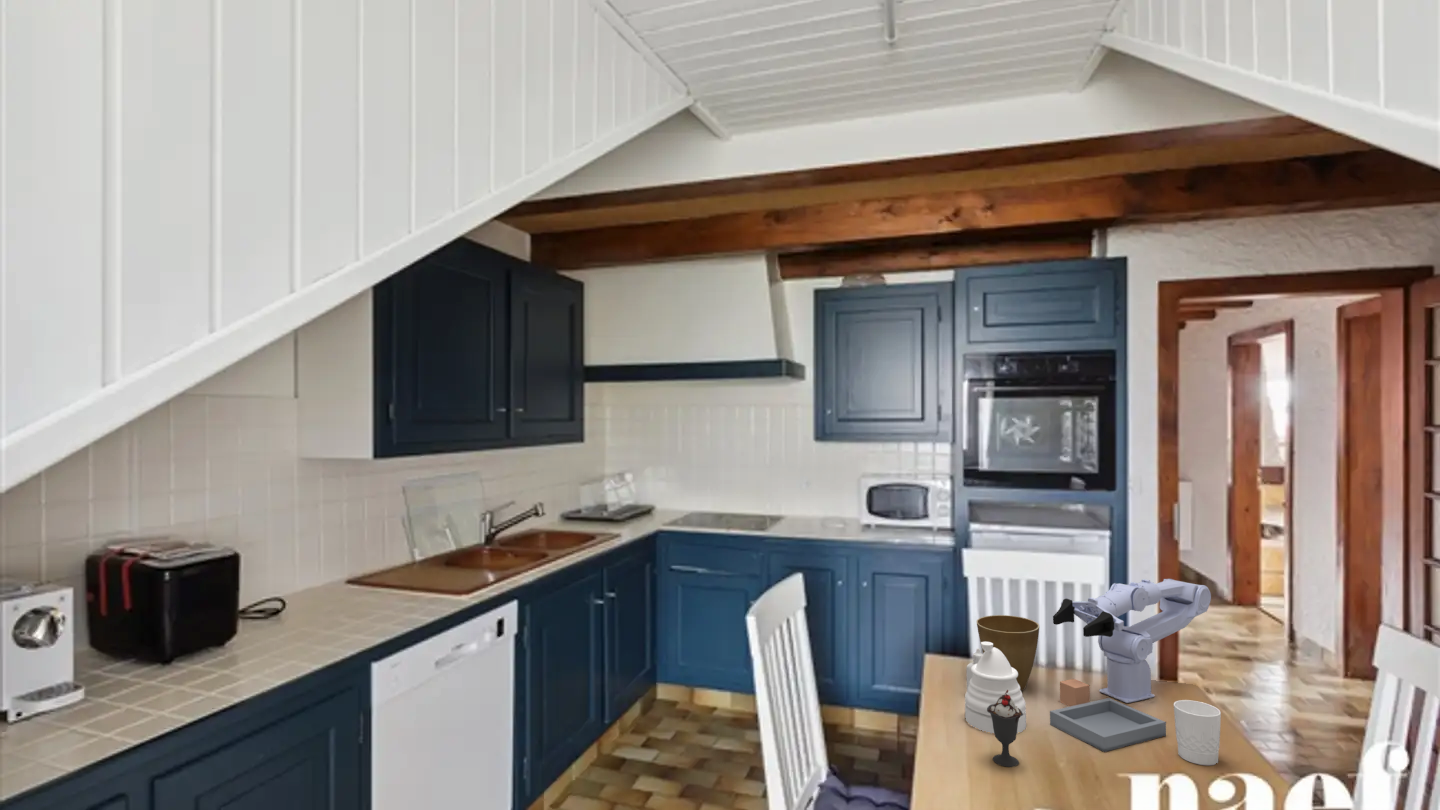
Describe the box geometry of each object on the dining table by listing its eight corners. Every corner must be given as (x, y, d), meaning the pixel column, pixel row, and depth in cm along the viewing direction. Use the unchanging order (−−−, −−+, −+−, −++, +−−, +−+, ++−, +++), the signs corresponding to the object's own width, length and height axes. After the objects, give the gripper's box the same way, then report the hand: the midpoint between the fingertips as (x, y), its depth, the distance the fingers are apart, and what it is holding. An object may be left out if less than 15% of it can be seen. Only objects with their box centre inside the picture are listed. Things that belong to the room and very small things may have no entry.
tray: (1109, 710, 166) (1108, 697, 166) (1166, 735, 153) (1165, 722, 153) (1050, 724, 160) (1049, 711, 160) (1104, 752, 147) (1104, 737, 147)
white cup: (1214, 751, 146) (1213, 702, 146) (1227, 770, 139) (1226, 718, 139) (1170, 746, 149) (1169, 697, 149) (1180, 764, 141) (1179, 713, 141)
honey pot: (995, 739, 153) (993, 655, 153) (953, 716, 165) (951, 638, 165) (1039, 727, 158) (1037, 646, 158) (995, 706, 170) (994, 630, 170)
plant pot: (1008, 671, 192) (1007, 611, 192) (1054, 691, 178) (1052, 626, 178) (965, 680, 186) (963, 619, 186) (1008, 701, 172) (1007, 635, 172)
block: (1074, 699, 173) (1073, 678, 173) (1089, 706, 169) (1089, 685, 169) (1060, 702, 172) (1059, 681, 172) (1075, 709, 167) (1075, 688, 167)
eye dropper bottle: (977, 692, 178) (976, 643, 179) (994, 700, 173) (993, 650, 173) (964, 695, 177) (963, 646, 177) (981, 703, 171) (980, 653, 172)
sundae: (1008, 772, 139) (1006, 695, 139) (981, 758, 145) (979, 683, 145) (1031, 764, 142) (1029, 688, 142) (1003, 750, 148) (1002, 677, 148)
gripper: (1077, 583, 177) (1041, 599, 171) (1135, 602, 165) (1098, 621, 158) (1077, 609, 179) (1042, 627, 172) (1135, 631, 166) (1099, 650, 160)
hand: (1069, 626), depth 165 cm, fingers open, 7 cm apart
